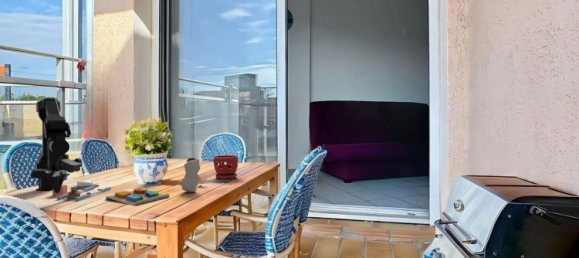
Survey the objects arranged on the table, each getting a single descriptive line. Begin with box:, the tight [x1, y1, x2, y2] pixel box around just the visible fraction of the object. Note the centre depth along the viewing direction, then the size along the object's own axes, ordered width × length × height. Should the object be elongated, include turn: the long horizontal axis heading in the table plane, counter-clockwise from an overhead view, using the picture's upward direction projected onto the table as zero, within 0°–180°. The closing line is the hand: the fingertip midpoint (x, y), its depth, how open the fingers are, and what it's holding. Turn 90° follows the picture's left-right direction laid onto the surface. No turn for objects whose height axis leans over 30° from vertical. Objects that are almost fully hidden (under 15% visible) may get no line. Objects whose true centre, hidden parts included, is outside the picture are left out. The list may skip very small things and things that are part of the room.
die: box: [51, 184, 68, 197], centre depth 158 cm, size 4×4×4 cm
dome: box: [76, 179, 94, 187], centre depth 172 cm, size 6×6×2 cm
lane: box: [56, 186, 112, 202], centre depth 159 cm, size 10×21×2 cm, turn 172°
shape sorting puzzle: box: [105, 187, 170, 206], centre depth 154 cm, size 18×19×4 cm
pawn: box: [67, 189, 81, 200], centre depth 152 cm, size 4×4×4 cm
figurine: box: [180, 157, 201, 193], centre depth 167 cm, size 9×10×15 cm
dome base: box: [70, 183, 100, 191], centre depth 173 cm, size 8×8×1 cm
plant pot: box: [213, 154, 239, 180], centre depth 203 cm, size 13×13×12 cm
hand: (57, 192), depth 143 cm, fingers closed
